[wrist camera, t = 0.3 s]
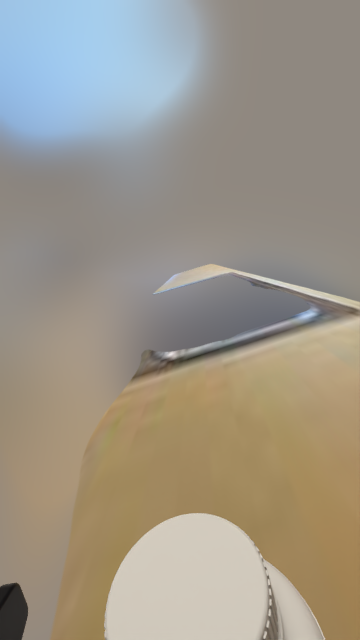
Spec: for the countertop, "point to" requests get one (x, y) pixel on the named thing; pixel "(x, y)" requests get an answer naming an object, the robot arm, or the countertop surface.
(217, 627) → the pill bottle
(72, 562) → the countertop surface
